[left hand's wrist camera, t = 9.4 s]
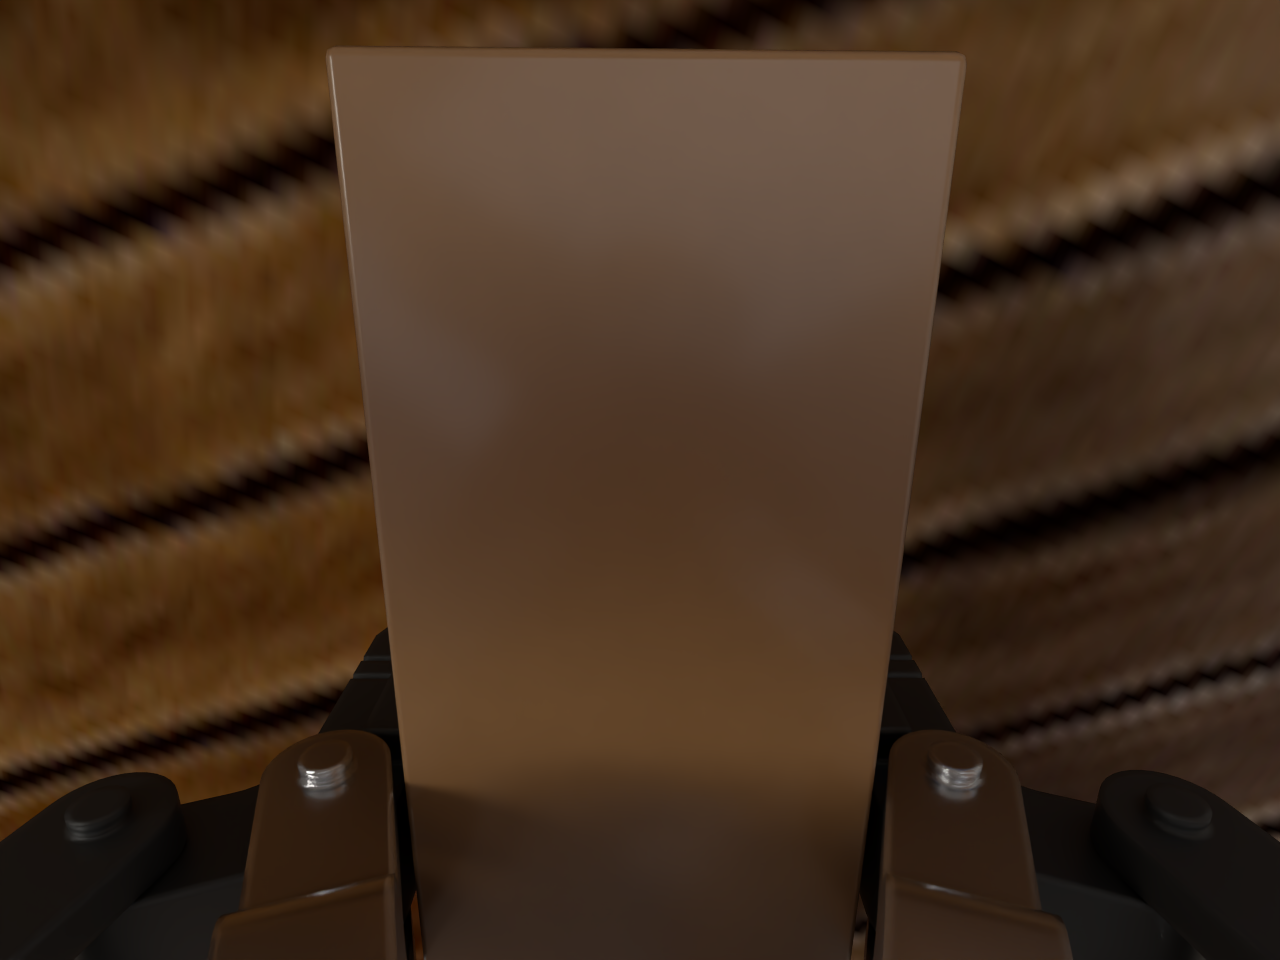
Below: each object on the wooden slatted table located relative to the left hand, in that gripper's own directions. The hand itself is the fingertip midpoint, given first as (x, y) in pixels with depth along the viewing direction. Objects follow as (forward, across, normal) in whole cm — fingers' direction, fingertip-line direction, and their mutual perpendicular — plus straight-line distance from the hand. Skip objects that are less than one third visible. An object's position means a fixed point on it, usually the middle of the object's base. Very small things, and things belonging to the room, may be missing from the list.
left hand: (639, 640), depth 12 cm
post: (+4, 0, -22) cm, 22 cm away
